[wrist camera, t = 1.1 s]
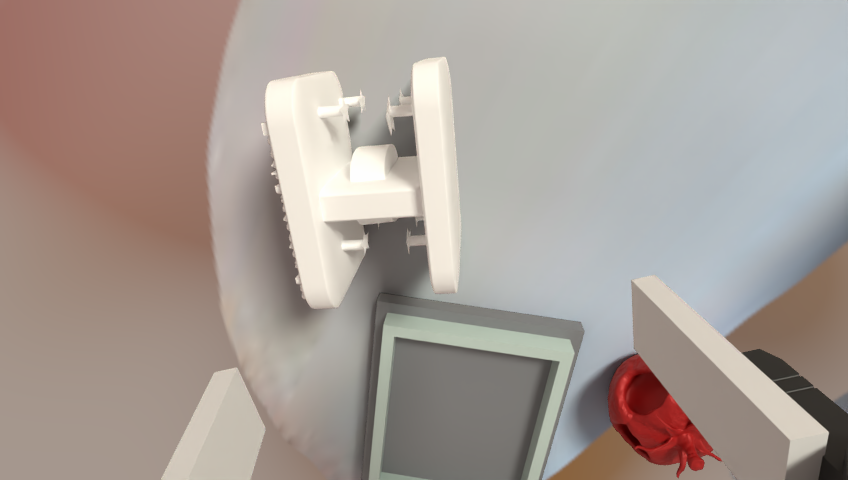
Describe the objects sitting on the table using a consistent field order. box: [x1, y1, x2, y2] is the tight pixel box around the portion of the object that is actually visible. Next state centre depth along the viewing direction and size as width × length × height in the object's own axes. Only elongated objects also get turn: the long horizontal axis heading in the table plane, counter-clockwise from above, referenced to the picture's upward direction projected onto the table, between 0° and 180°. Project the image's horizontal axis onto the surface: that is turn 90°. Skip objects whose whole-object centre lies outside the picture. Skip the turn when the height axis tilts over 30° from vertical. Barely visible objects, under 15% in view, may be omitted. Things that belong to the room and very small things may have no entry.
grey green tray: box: [361, 293, 584, 480], centre depth 45 cm, size 18×22×4 cm
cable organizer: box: [261, 57, 461, 309], centre depth 33 cm, size 15×11×12 cm
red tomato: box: [608, 354, 722, 478], centre depth 40 cm, size 10×10×9 cm
